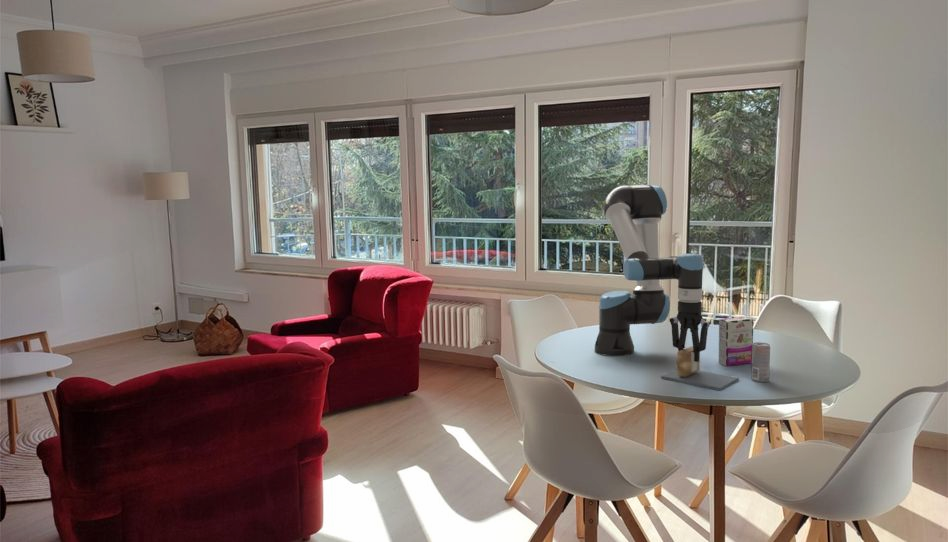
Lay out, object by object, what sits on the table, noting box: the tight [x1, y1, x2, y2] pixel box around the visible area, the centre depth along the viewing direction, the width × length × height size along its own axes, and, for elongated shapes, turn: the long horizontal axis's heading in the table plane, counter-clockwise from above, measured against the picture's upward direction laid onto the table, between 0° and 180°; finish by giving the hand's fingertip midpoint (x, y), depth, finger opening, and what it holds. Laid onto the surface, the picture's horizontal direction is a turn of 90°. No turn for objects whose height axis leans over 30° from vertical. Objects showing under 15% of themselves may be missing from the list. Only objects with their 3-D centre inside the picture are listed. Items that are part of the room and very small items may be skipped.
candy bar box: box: [718, 316, 754, 367], centre depth 224 cm, size 11×5×16 cm, turn 105°
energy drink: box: [750, 342, 771, 383], centre depth 204 cm, size 5×5×12 cm
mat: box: [661, 368, 740, 391], centre depth 207 cm, size 20×14×1 cm
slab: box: [676, 345, 701, 377], centre depth 209 cm, size 3×10×8 cm, turn 135°
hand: (688, 369), depth 209 cm, fingers closed on slab, 3 cm apart
